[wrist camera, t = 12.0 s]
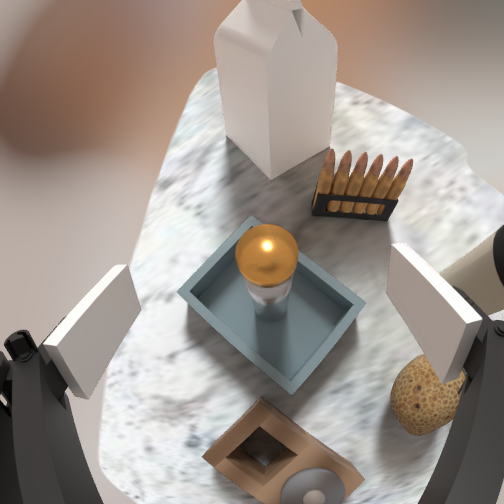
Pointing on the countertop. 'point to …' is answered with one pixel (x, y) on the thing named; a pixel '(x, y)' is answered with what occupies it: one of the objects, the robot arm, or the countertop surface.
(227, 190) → the countertop surface
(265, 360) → the tray
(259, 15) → the milk
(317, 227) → the countertop surface
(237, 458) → the block
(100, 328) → the robot arm
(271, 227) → the pin
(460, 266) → the travel mug
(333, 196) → the ammunition clip
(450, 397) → the natural sponge
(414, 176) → the countertop surface
